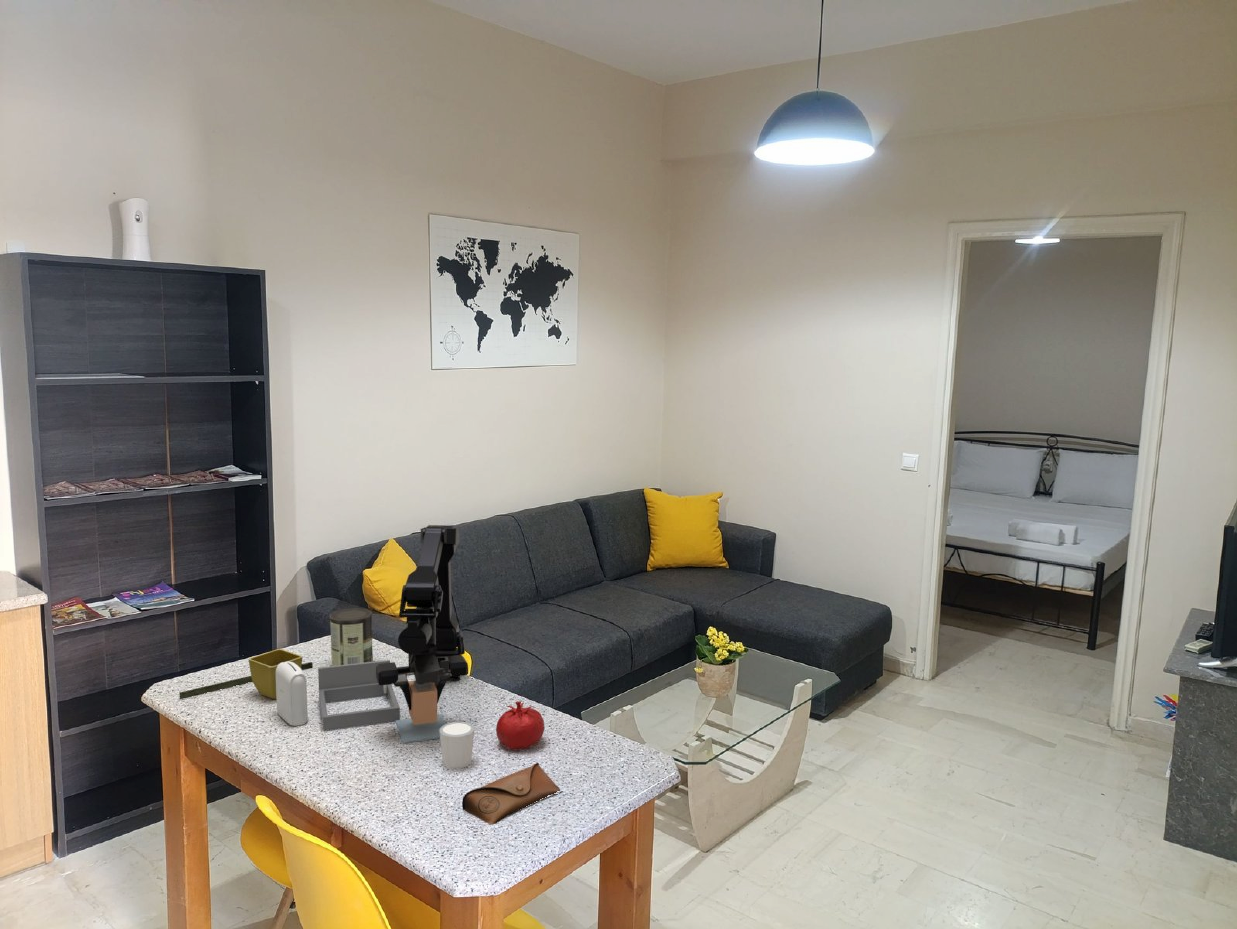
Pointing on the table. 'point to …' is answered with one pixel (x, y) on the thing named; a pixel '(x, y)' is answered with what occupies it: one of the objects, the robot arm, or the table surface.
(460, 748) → the white cup
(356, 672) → the grey open frame
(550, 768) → the table surface
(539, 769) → the sunglasses case
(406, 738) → the mat
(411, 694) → the block
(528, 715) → the pomegranate
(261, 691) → the flower pot
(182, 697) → the rod
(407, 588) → the robot arm
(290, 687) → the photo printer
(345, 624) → the coffee can
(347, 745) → the table surface
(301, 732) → the table surface
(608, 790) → the table surface
